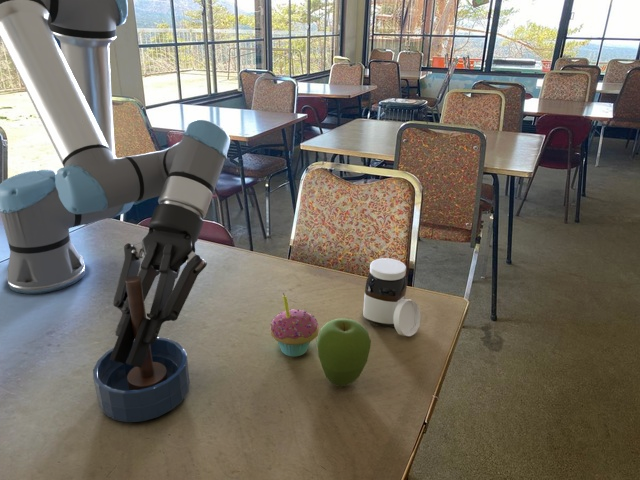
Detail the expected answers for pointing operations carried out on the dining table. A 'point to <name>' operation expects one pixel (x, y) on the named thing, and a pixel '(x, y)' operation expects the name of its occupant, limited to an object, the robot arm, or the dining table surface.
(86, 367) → the dining table surface
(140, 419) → the bowl
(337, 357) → the apple
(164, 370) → the wooden peg stand
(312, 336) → the cupcake
